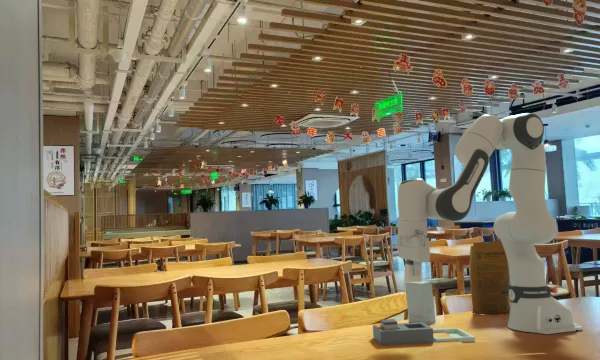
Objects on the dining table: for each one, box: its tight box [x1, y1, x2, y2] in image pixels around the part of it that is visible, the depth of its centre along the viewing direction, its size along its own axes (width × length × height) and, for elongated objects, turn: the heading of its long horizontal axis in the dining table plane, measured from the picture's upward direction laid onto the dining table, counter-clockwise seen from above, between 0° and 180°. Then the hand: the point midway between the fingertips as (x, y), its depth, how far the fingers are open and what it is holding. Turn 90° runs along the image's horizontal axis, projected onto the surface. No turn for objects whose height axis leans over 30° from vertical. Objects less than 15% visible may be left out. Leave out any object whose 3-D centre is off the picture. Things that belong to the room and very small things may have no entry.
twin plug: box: [380, 318, 398, 330], centre depth 144 cm, size 4×4×6 cm
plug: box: [404, 260, 423, 282], centre depth 146 cm, size 4×4×6 cm
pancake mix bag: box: [468, 240, 510, 315], centre depth 184 cm, size 7×19×28 cm, turn 99°
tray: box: [433, 327, 476, 343], centre depth 148 cm, size 12×12×2 cm
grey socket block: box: [372, 322, 435, 347], centre depth 144 cm, size 16×9×6 cm, turn 95°
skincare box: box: [404, 280, 437, 325], centre depth 172 cm, size 8×6×15 cm
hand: (413, 275), depth 146 cm, fingers closed on plug, 4 cm apart
